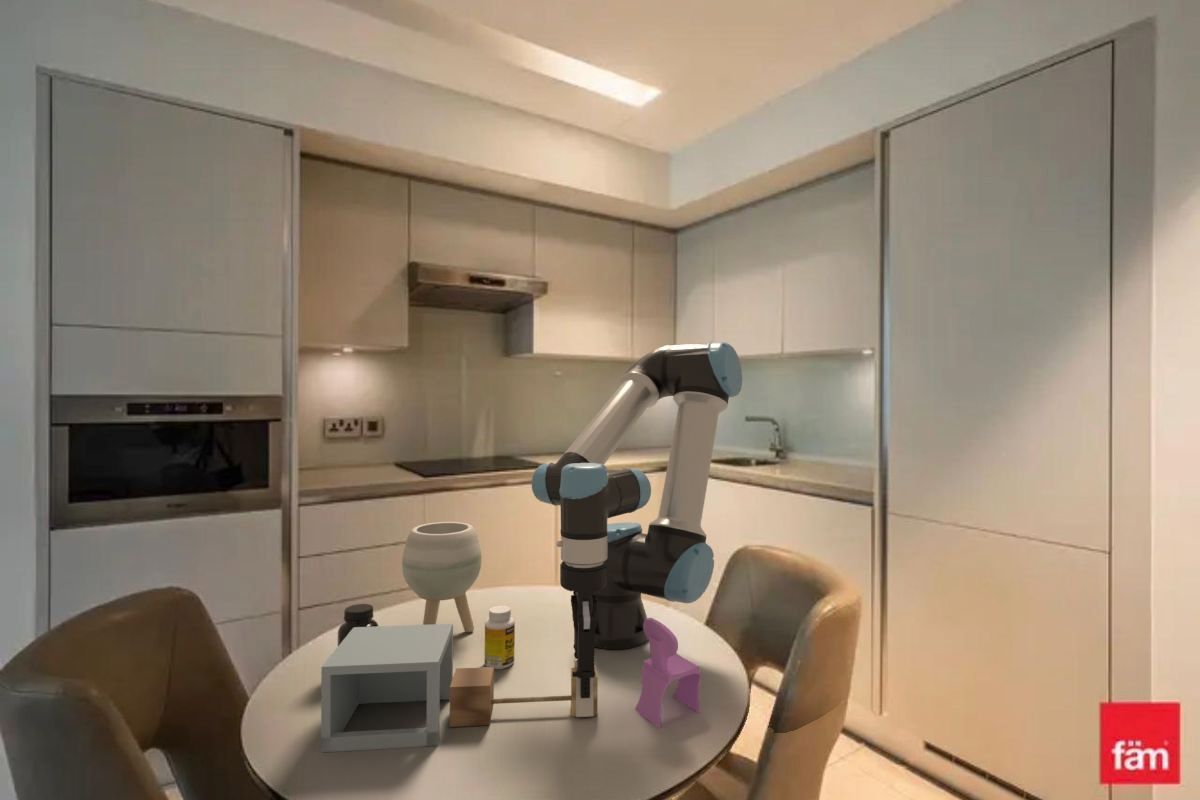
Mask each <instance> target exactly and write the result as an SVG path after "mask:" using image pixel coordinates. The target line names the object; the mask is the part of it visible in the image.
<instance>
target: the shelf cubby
mask: <svg viewBox="0 0 1200 800" xmlns="http://www.w3.org/2000/svg"><path fill="white" fill-rule="evenodd" d="M453 659H454V623H438V624H437V623H436V624H431V625H423V624H406V625H384V626H383V625H380V626H379V625H378V626H376V627H354V628H353V629H352V630H351V631H350V632H349V634H348V635H347V636H346V637H345V639H344V640H343V641H342V642H341V644H340V645H339V646H338V647H336V649H335V650H334V651H333V652H332V653H331V654H330V656H329V657H328V659H326V661H325V662H324V663H323V665H322V666H321V671H320V672H321V689H320V690H321V699H320V700H321V702H320V703H321V704H320V705H321V707H320V709H321V711H320V713H321V715H320V716H321V718H320V719H321V723H320V725H321V726H320V727H321V728H320V734H321V735H320V745H321V746H320V747H321V748H320V753H333V752H353V751H369V750H384V749H385V750H387V749H401V748H403V749H404V748H406V749H407V748H420V747H422V748H423V747H436V746H439V744H440V739H441V737H440V735H441V733H440V730H441V729H440V728H441V727H440V721H441V719H440V718H441V717H440V715H441V714H440V713H441V712H440V711H441V710H440V707H441V705H440V704H441V703H440V702H441V701H442V700H450V685H451V682H452V679H453V676H454V670H453V669H454V660H453ZM440 700H441V701H440ZM419 701H420V702H421V701H426V727H414V728H413V727H411V728H395V729H379V730H377V729H376V730H374V729H373V730H358V731H344V729H345V728H346V725H347V724H348V722H349V720H350V719H352V718H351V717H352V715H353V714H354V713H355V711H356V709H357V707H358V706H359V704H361V705H362V704H378V703H381V704H382V703H383V704H384V703H399V702H400V703H401V702H419Z"/></svg>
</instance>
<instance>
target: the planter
mask: <svg viewBox="0 0 1200 800" xmlns="http://www.w3.org/2000/svg"><path fill="white" fill-rule="evenodd" d="M479 539H480V538H479V537H478V533H477V531H476V530H475V528H474V527H473V525H472V524H469V523H466V522H459V521H441V522H439V521H438V522H437V521H436V522H429V523H425V524H424V523H423V524H420V525H417V526H414V527H413V528H412V529H411V531H410V532H409V534H408V537H407V539H406V542H405V545H404V548H403V552H402V563H401V564H402V565H401V567H402V575H403V578H404V581H405V583H406V584H407V585H408V587H409V589H410V590H412V592H413V593H415V594H416V595H417V596H418V597H419V598H420V599H423V600H425V605H424V613H423V619H422V621H423V622H422V625H431V624H437V620H438V615H439V609H440V605H441V603H440V602H441V601H448V600H454V603H455V607H456V609H457V613H458V615H459V618H460V622H461V624H462V627H463V631H464V632H466V633H472V632H473V631H474V630H475V625H474V620H473V618H472V615H471V614H472V613H471V610H470V605H469V602H468V598H467V595H466V593H467V592H468V590H469V589H470V588H471V587H472V586H473V585H474V584H475V582H476V580H477V579H478V577H479V575H480V572H481V569H482V549H481V544H480V540H479Z"/></svg>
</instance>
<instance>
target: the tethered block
mask: <svg viewBox="0 0 1200 800" xmlns="http://www.w3.org/2000/svg"><path fill="white" fill-rule="evenodd" d="M596 667H597V666H594V671H595V677H594V695H593V716H598V705H599V704H598V702H599V701H598V698H599V697H598V695H599V694H598V687H599V685H598V684H599V683H598V682H599V681H598V680H599V677H598V672H597V668H596ZM575 671H577V667H576V668H575V667H574V666H573V667H570V677H571V678H570V695H553V696H549V695H548V696H527V697H526V696H525V697H524V696H523V697H508V698H507V697H506V698H502V697H501V698H494V697H495V696H494V695H495V694H494V693H495V692H494V691H495V690H494V687H495V686H494V685H495V683H494V681H495V680H494V679H495V678H494V675H495V674H494V673H495V669H494V667H487V666H486V667H462V668H461V667H458V668H455V670H454V672H453V679H452V682H451V685H450V699H449V728H453V727H458V728H459V727H475V726H477V727H478V726H490V725H491V722H492V716H493V709H494V705H496V704H498V705H499V704H517V703H518V704H519V703H539V702H540V703H541V702H542V703H545V702H565V701H570V708H571V710H570V711H571V717H576V677H572V672H575Z"/></svg>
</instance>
